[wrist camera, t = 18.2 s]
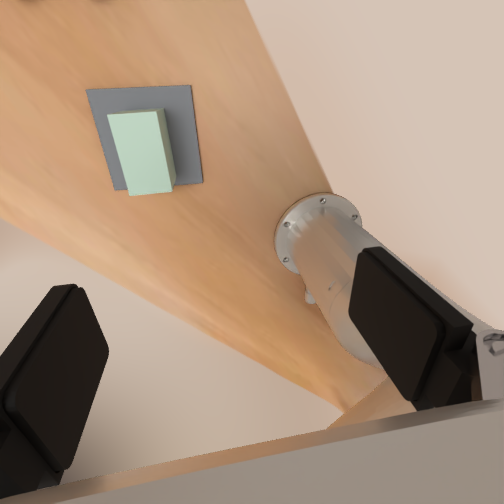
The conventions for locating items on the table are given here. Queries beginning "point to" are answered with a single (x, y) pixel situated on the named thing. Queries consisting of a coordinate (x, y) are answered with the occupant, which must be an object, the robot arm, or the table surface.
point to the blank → (144, 150)
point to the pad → (177, 120)
